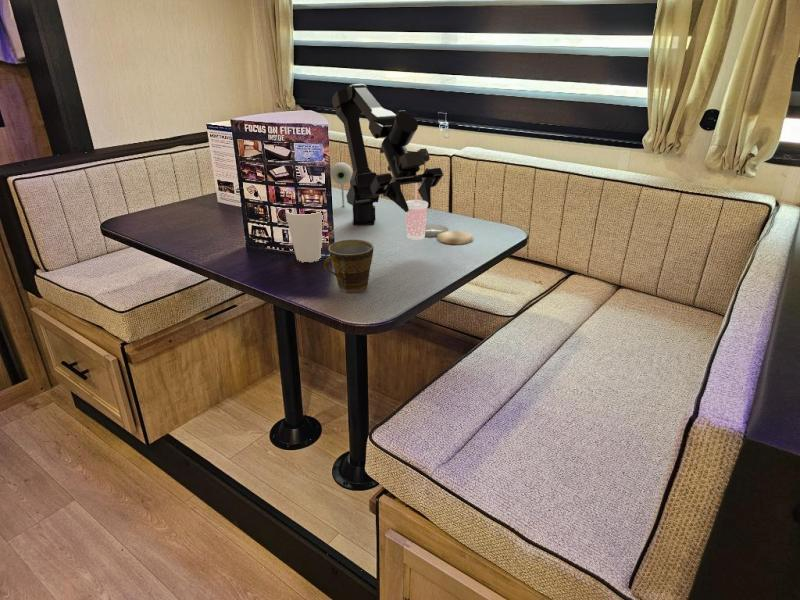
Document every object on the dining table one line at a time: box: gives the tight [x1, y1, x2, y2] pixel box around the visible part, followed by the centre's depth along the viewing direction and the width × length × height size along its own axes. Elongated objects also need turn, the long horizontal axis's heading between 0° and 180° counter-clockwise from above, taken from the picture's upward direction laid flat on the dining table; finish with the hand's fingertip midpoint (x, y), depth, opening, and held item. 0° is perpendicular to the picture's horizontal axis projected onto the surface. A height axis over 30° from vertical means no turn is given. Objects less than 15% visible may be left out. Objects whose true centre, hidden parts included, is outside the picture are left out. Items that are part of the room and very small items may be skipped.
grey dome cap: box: [425, 223, 449, 238], centre depth 160 cm, size 10×10×1 cm
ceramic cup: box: [323, 239, 375, 295], centre depth 121 cm, size 13×10×10 cm
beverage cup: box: [404, 183, 428, 241], centre depth 137 cm, size 6×6×14 cm
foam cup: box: [284, 209, 324, 263], centre depth 139 cm, size 10×9×13 cm
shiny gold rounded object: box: [436, 230, 473, 245], centre depth 154 cm, size 10×10×1 cm
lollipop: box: [330, 161, 353, 207], centre depth 182 cm, size 7×7×15 cm
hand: (418, 209), depth 136 cm, fingers closed on beverage cup, 6 cm apart
